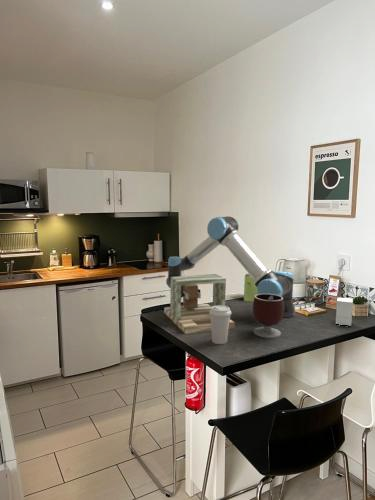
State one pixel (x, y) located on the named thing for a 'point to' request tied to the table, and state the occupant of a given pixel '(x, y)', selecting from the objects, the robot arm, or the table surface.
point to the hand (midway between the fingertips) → (193, 296)
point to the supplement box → (344, 311)
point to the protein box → (249, 288)
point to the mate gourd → (268, 314)
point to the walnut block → (191, 296)
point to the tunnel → (200, 316)
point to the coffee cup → (220, 323)
